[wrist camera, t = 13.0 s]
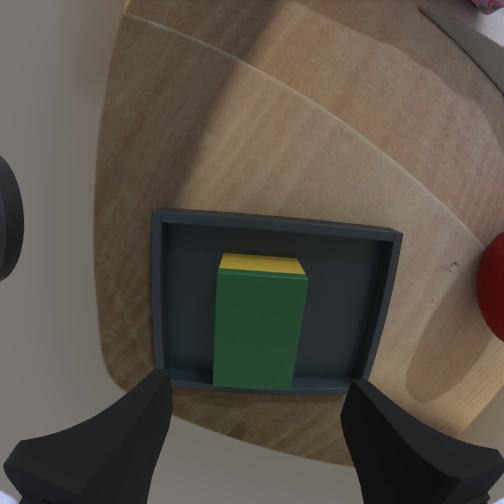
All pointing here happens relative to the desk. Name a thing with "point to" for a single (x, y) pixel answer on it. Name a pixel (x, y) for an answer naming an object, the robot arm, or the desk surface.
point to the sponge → (257, 321)
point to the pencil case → (488, 5)
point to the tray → (316, 304)
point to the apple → (492, 286)
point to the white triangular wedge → (474, 45)
